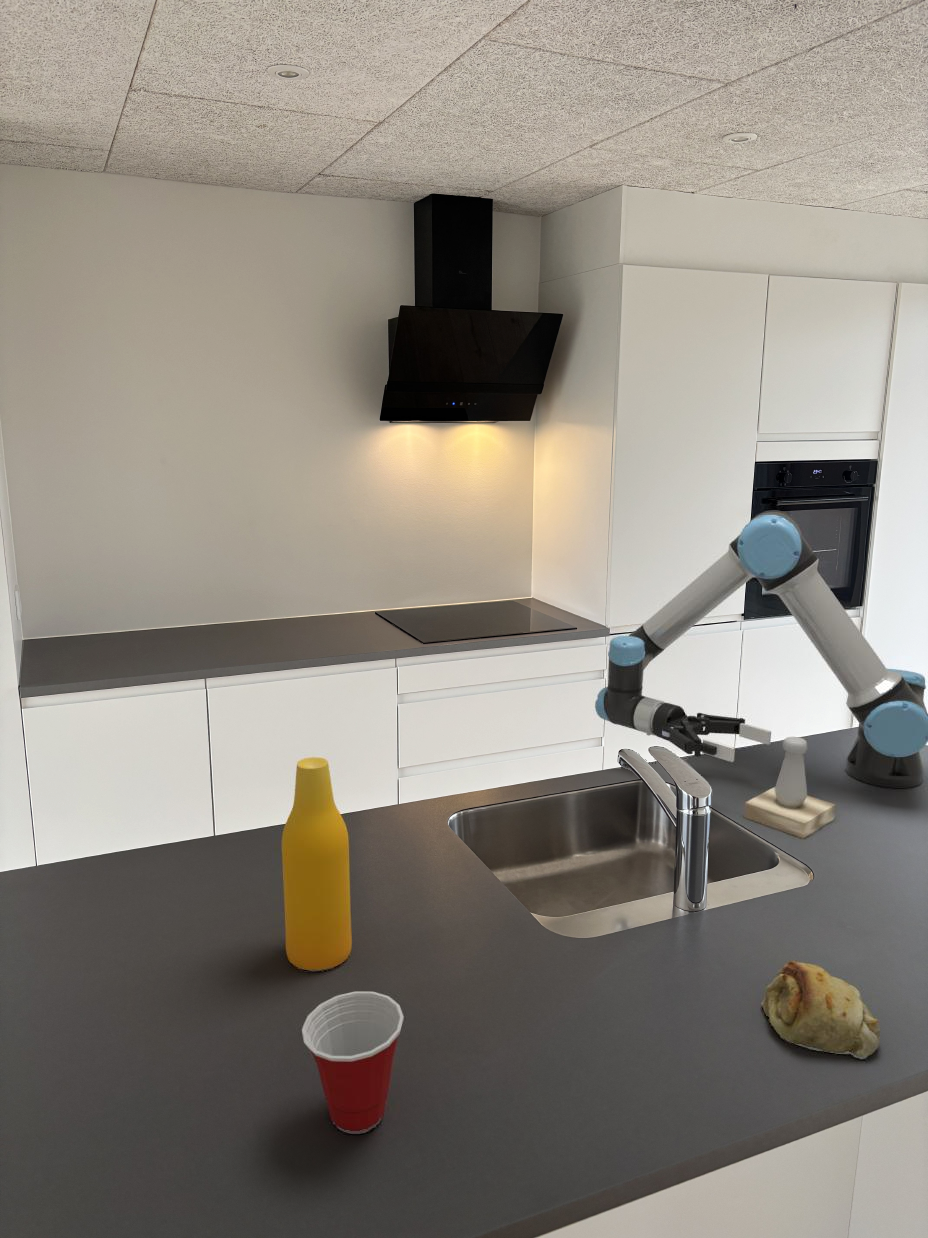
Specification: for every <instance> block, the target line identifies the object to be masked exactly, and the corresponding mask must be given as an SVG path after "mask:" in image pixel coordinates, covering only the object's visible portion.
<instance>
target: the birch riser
mask: <svg viewBox="0 0 928 1238" xmlns="http://www.w3.org/2000/svg"><path fill="white" fill-rule="evenodd" d="M775 787H776V785H775V786H774V787H772V788H770V789H768V790H766V791H764V792H762V793H761V794H759V795H756V796H755V797H753V798H751V799H749V800H748V801H746V802H744V810H743V811H744V812H743V813H744V814H743V818H745V819H747V820H751V821H752V822H756V823H758V824H761V825H765V826H767V827H770V828H772V829H774V830H778V831H779V832H780V831H781V832H784V833H787V834H789V835H792V836H795V837H797V838H800V839H802V840H803V839H805V838H807V837H808V836H810V835H812V834H813V833H815V832H816V831H818V830H819V829H821V828H823V827H824V826H826V825H827V824H829V823H831V822H832V821H833V820H835V814H836V813H835V812H836V804H834V803H832V802H828V801H826V800H822V799H820V798H816V797H813V796H810V795H807V797H806V799H805V801H804V802H803V804H802V806H800V807H797V808H789V807H784V806H783V805H781V804H779V803H778V800H777V797H776V794H775Z"/></svg>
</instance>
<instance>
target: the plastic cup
mask: <svg viewBox="0 0 928 1238" xmlns="http://www.w3.org/2000/svg"><path fill="white" fill-rule="evenodd" d="M400 1005H401V1004H399V1003H397V1002H396V1001H395V1000H394V999H393V998H391V997H390V996H389V995H385V994H384V993H383V994H382V993H380V992H375V991H352V992H348V993H343V994H338V995H335V996H333V997H332V998H330V999H328V1000H326V1001H323V1002H322V1003H320V1004H319V1005H317V1006H316V1008H315V1009H313V1010H312V1011H311V1012H310V1013H309V1014H308V1015H307V1017H306V1019H305V1021H304V1023H303V1026H302V1029H301V1033H302V1038H303V1043H304V1045H305V1046H306V1047H307V1048H308V1050H310V1052H311V1054H312V1056H313V1058H314V1061H315V1063H316V1066H317V1070H318V1074H319V1078H320V1083H321V1086H322V1090H323V1095H324V1097H325V1098H324V1099H325V1101H326V1103H327V1107H328V1111H329V1112H328V1113H329V1116H330V1117H329V1118H330V1120H331V1121H333V1122H334V1123H335V1125H336V1126H338V1127H340V1128H342V1129H344V1130H350V1131H360V1130H363V1129H368V1128H369V1127H371V1126H373V1125H374V1124H376V1123H377V1122H378V1121H379V1119H380V1118H381V1117H382V1116H383V1117H384V1115H385V1112H386V1105H387V1099H388V1095H389V1091H390V1087H391V1086H390V1085H391V1080H392V1075H393V1074H392V1073H393V1072H392V1071H393V1067H394V1062H395V1061H394V1060H395V1052H396V1048H397V1044H398V1037H399V1035H400V1034H401V1029H402V1026H403V1022H404V1013H403V1011H402V1008H401V1006H400ZM383 1114H384V1115H383ZM383 1117H382V1118H383ZM333 1122H332V1123H333Z"/></svg>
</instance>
